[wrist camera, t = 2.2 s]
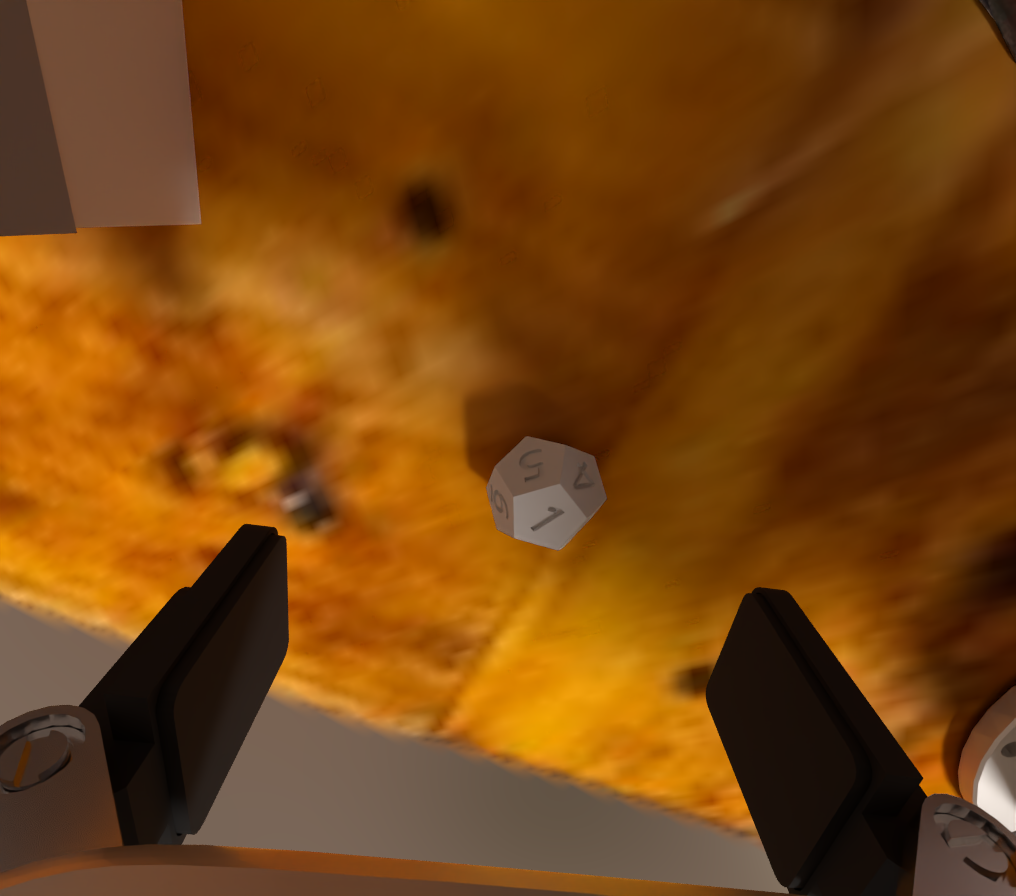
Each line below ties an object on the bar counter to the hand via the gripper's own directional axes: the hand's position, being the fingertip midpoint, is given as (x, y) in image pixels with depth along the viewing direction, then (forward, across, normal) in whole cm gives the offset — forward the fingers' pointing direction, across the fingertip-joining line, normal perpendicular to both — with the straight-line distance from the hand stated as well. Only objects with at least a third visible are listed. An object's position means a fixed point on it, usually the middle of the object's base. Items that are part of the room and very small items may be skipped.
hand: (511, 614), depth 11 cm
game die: (+8, -1, 0) cm, 8 cm away
